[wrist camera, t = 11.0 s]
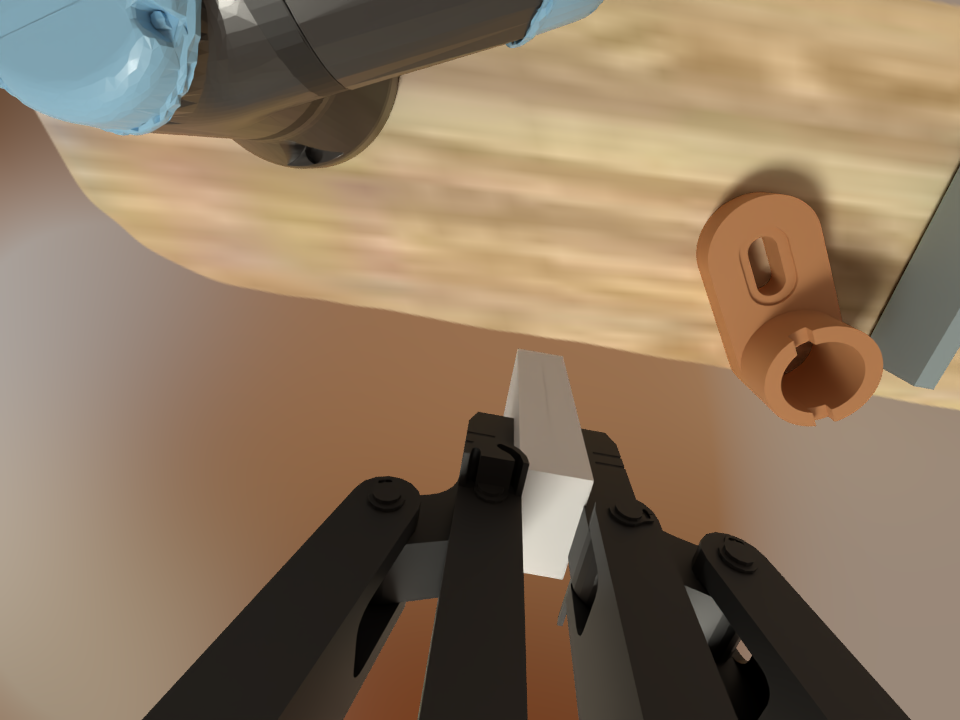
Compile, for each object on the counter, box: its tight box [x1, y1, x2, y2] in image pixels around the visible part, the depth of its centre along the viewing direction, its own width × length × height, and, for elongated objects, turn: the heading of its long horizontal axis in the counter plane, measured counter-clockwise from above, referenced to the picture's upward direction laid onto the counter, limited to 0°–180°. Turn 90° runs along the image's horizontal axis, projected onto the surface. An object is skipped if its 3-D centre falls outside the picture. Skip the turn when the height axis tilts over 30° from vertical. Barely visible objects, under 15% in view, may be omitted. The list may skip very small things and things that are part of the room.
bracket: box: [696, 192, 883, 426], centre depth 37 cm, size 18×8×7 cm, turn 26°
